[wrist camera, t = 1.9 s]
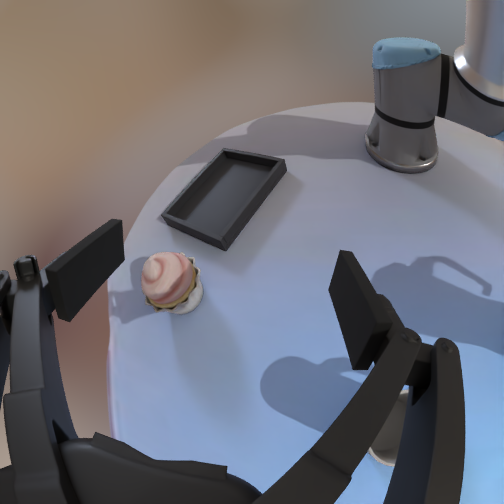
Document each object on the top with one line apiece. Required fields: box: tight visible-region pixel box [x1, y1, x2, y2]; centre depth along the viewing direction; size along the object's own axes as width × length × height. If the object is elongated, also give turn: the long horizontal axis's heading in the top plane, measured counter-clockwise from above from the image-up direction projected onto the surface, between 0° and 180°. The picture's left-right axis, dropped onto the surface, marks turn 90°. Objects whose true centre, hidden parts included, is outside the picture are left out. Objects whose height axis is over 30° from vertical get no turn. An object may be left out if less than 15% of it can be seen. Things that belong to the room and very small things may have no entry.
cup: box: [367, 389, 409, 466], centre depth 20 cm, size 7×10×9 cm
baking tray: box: [161, 148, 287, 251], centre depth 49 cm, size 20×15×3 cm
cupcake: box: [141, 252, 203, 315], centre depth 36 cm, size 9×9×10 cm
